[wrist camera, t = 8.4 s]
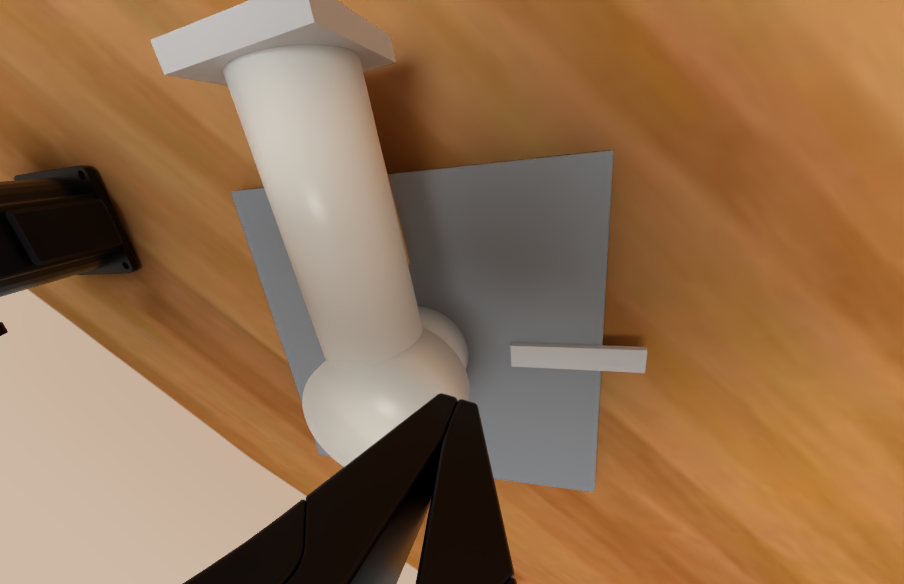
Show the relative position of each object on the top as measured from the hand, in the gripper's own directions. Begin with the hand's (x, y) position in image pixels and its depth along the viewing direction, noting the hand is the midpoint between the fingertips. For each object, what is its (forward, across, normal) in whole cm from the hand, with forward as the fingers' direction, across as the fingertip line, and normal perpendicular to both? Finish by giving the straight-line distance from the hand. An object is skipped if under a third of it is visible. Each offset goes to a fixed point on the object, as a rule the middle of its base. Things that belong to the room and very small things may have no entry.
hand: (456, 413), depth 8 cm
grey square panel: (+10, +3, +4) cm, 11 cm away
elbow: (+8, +5, +1) cm, 9 cm away
